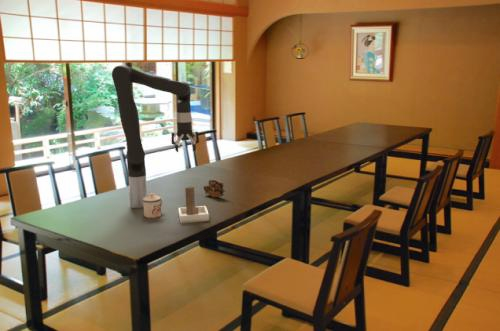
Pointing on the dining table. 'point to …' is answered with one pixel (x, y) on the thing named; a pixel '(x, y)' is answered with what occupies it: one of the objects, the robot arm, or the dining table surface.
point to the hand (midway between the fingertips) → (185, 151)
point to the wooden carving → (214, 188)
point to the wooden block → (190, 201)
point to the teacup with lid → (152, 206)
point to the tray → (199, 217)
